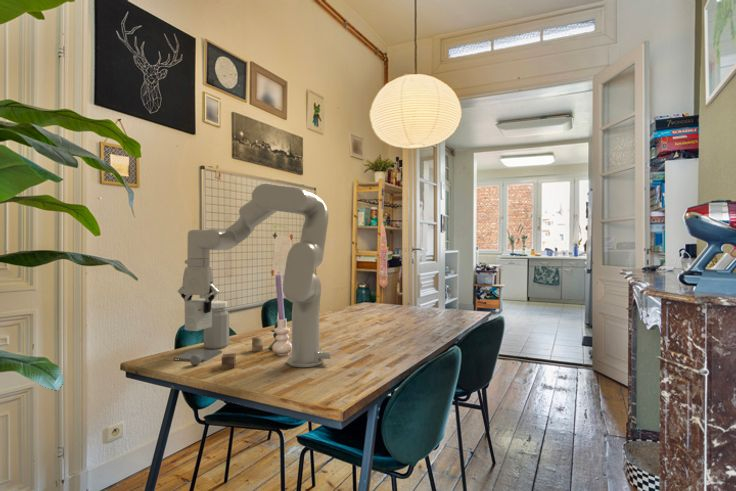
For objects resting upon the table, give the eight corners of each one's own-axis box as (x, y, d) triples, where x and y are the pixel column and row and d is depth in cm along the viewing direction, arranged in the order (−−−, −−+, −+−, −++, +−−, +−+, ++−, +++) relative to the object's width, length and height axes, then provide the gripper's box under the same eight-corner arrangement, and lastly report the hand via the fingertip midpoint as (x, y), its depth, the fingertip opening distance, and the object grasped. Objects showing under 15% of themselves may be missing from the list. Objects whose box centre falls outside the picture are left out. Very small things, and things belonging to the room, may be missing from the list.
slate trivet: (221, 352, 155) (221, 350, 155) (204, 361, 143) (204, 359, 143) (192, 351, 157) (192, 349, 157) (173, 360, 145) (173, 357, 145)
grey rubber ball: (203, 363, 141) (203, 353, 141) (197, 366, 137) (197, 356, 137) (193, 363, 141) (193, 352, 141) (187, 366, 138) (187, 355, 138)
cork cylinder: (264, 349, 160) (264, 336, 160) (260, 352, 156) (260, 339, 156) (254, 349, 160) (254, 336, 160) (250, 351, 156) (250, 338, 156)
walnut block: (235, 365, 140) (235, 353, 140) (234, 368, 136) (234, 356, 136) (223, 365, 139) (223, 354, 139) (221, 369, 135) (221, 357, 135)
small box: (200, 325, 155) (200, 298, 155) (212, 327, 153) (212, 299, 152) (183, 330, 147) (184, 300, 147) (195, 331, 145) (195, 301, 145)
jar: (217, 350, 158) (218, 304, 157) (197, 348, 161) (197, 302, 161) (234, 344, 167) (234, 300, 167) (215, 342, 170) (215, 299, 170)
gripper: (170, 263, 147) (170, 313, 147) (215, 264, 145) (215, 314, 145) (182, 262, 155) (182, 309, 155) (225, 263, 152) (225, 311, 152)
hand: (198, 311), depth 150 cm, fingers closed on small box, 6 cm apart
